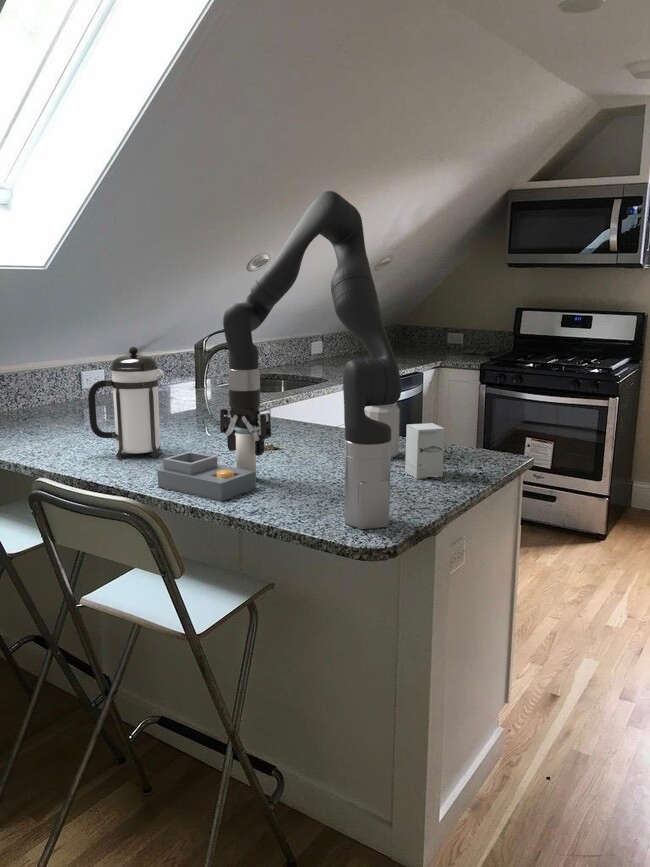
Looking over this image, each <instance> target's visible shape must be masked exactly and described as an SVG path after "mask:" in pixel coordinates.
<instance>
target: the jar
mask: <svg viewBox="0 0 650 867" xmlns="http://www.w3.org/2000/svg"><path fill="white" fill-rule="evenodd" d="M364 410H365V415H366V416H368V417H369V418H371V419H373V420H376V421H380V422H383V423H386V424H388V425H389V426H390V427H391V458H392V459H394V458H396V457H397V456H398V454H399V447H400V446H399V445H400V411H401V410H400V408H399V406H398V401H397V402H396V403H395V404H391V405H382V406H364ZM395 456H396V457H395ZM393 457H394V458H393Z"/></svg>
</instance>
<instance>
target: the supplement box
mask: <svg viewBox="0 0 650 867" xmlns="http://www.w3.org/2000/svg"><path fill="white" fill-rule="evenodd" d="M405 434H406V436H405V438H406V439H405V440H406V441H405V464H404V466H405V467H404V468H405V469H404V470H405V471H404V472H405V473H406V474H407V475H409V476H410V475H411V476H410V477H412V476H413V477H414V478H413V477H412V478H413V479H415V478H416V479H415V480H419V479H428V478H427V477H434V478H436V477H435V476H442V477H444V476H443V473H444V454H445V453H444V451H445V450H444V448H445V428H444V427H442V426H440V425H438V424H436V423H433V422H429V423H412V424H411V423H409V424H406V433H405Z"/></svg>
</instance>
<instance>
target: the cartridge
mask: <svg viewBox="0 0 650 867" xmlns="http://www.w3.org/2000/svg"><path fill="white" fill-rule="evenodd" d="M254 428H256V426H255V427H254ZM235 432H236V434H235V435H236V450H235V458H236V460H235V461H236V466H235V468H239V469H244V470H249V471H254V472H255V480H257V455H255V441H256V439H255V438H254V436H253V434H252V433H250V431H249V430H248V429H247V428H240V427H237V426H236V427H235Z"/></svg>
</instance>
